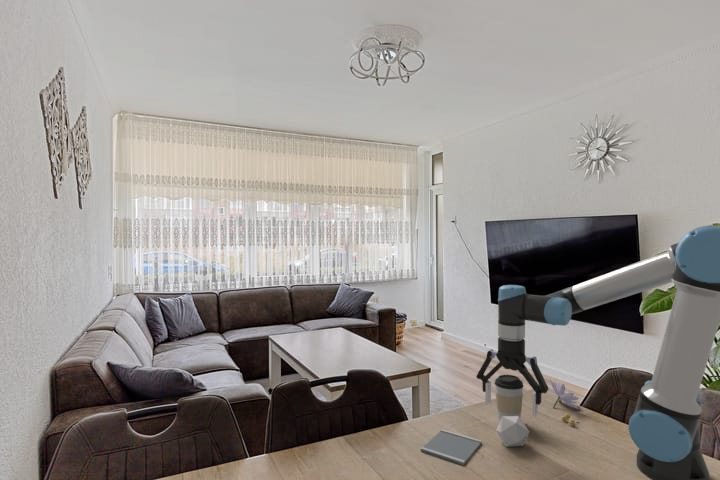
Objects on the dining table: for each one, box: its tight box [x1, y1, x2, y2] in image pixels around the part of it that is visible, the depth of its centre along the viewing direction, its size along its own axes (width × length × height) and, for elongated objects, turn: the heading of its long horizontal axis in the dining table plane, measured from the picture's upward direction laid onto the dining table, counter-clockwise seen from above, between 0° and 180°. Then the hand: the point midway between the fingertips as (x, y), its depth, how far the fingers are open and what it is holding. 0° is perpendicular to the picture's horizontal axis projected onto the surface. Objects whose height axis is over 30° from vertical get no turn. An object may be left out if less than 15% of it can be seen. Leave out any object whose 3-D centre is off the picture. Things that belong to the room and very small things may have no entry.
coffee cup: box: [494, 374, 524, 423], centre depth 138 cm, size 9×9×15 cm
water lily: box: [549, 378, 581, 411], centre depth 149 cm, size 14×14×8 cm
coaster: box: [420, 429, 483, 466], centre depth 122 cm, size 13×14×1 cm
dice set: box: [561, 413, 580, 427], centre depth 137 cm, size 5×5×2 cm
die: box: [495, 416, 530, 448], centre depth 124 cm, size 8×9×10 cm
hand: (510, 408), depth 124 cm, fingers open, 13 cm apart
